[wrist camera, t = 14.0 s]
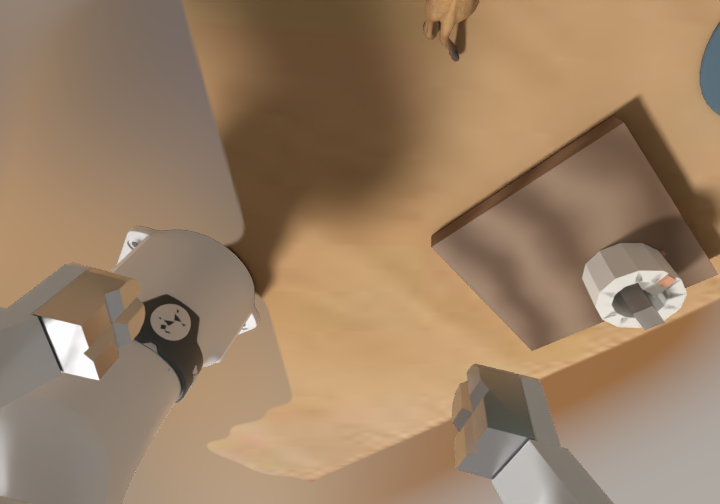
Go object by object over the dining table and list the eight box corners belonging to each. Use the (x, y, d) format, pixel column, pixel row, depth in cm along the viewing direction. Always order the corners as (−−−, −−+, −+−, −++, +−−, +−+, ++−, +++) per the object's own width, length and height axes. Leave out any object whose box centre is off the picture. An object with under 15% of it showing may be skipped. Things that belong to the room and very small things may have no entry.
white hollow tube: (623, 306, 37) (641, 339, 34) (567, 280, 37) (580, 311, 33) (680, 261, 34) (707, 293, 30) (619, 231, 33) (640, 261, 30)
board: (528, 337, 45) (544, 397, 38) (431, 236, 39) (431, 286, 32) (705, 261, 36) (765, 322, 29) (613, 115, 30) (663, 150, 23)
